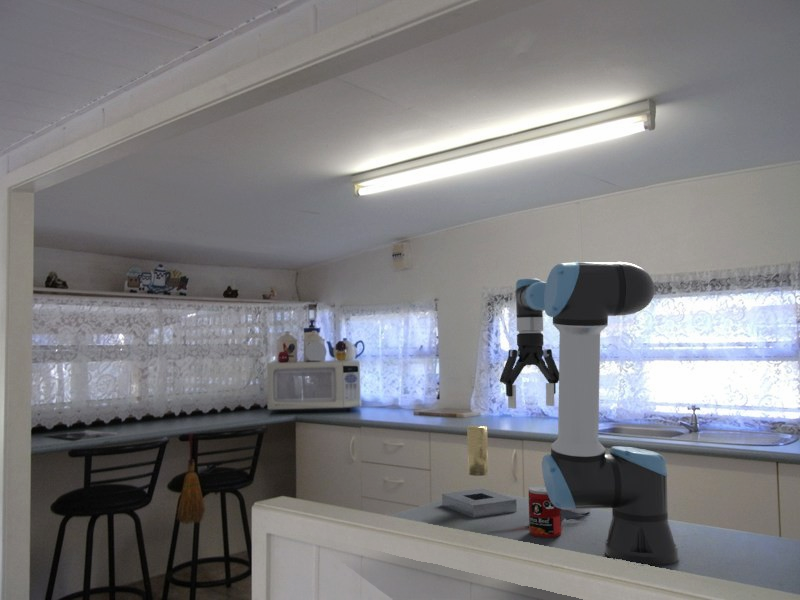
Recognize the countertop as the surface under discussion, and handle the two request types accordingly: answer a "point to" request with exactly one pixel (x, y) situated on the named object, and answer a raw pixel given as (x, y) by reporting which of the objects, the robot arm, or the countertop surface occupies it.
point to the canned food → (543, 514)
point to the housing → (479, 503)
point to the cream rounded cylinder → (477, 450)
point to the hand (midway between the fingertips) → (531, 407)
